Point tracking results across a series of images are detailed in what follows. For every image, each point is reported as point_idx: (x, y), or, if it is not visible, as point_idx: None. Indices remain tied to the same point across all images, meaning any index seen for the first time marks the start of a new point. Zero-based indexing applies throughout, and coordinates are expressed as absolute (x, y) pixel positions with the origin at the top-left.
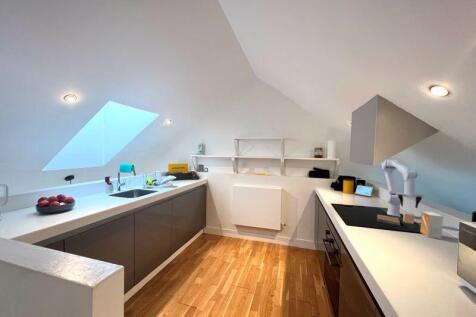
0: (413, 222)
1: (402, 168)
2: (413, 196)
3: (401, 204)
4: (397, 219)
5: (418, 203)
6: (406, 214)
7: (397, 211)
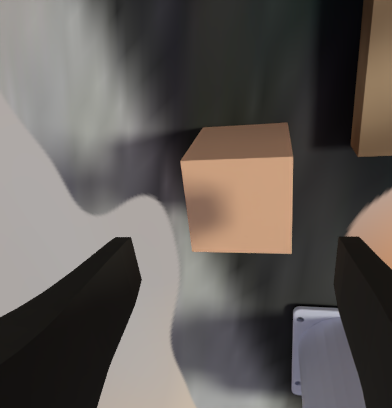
0: (202, 131)
1: None
2: None
3: (378, 258)
4: (385, 48)
5: (50, 289)
6: (271, 154)
7: (327, 355)
